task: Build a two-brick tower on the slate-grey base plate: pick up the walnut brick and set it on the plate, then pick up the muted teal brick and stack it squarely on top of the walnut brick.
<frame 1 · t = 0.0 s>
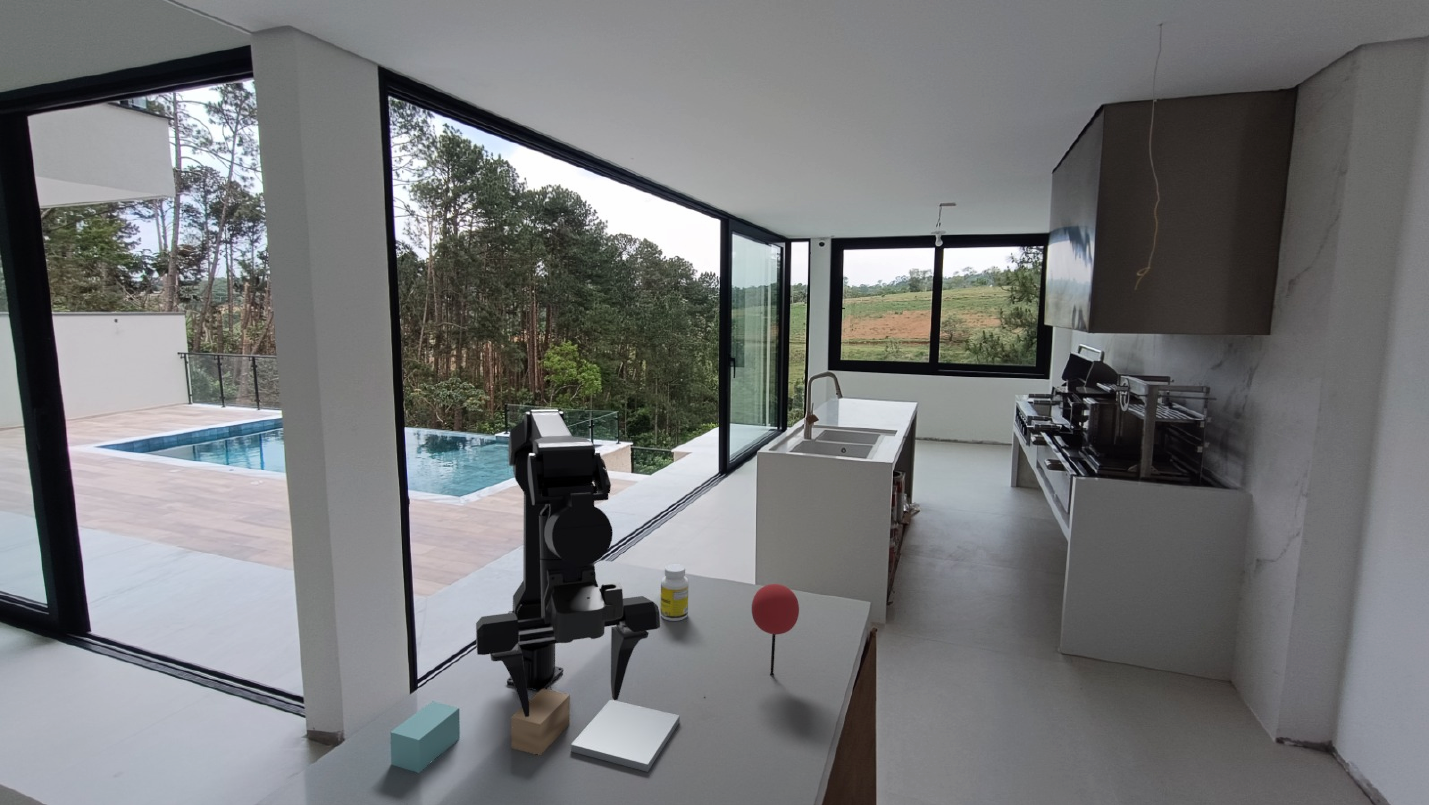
hand: (572, 707, 67), 15 cm above the counter, tool pointing down, fingers open, 9 cm apart
supplement bottle: (674, 616, 124), on the counter
lollipop: (772, 675, 104), on the counter
base plate: (627, 736, 87), on the counter
teal brick: (426, 752, 82), on the counter
walnut brick: (541, 736, 86), on the counter
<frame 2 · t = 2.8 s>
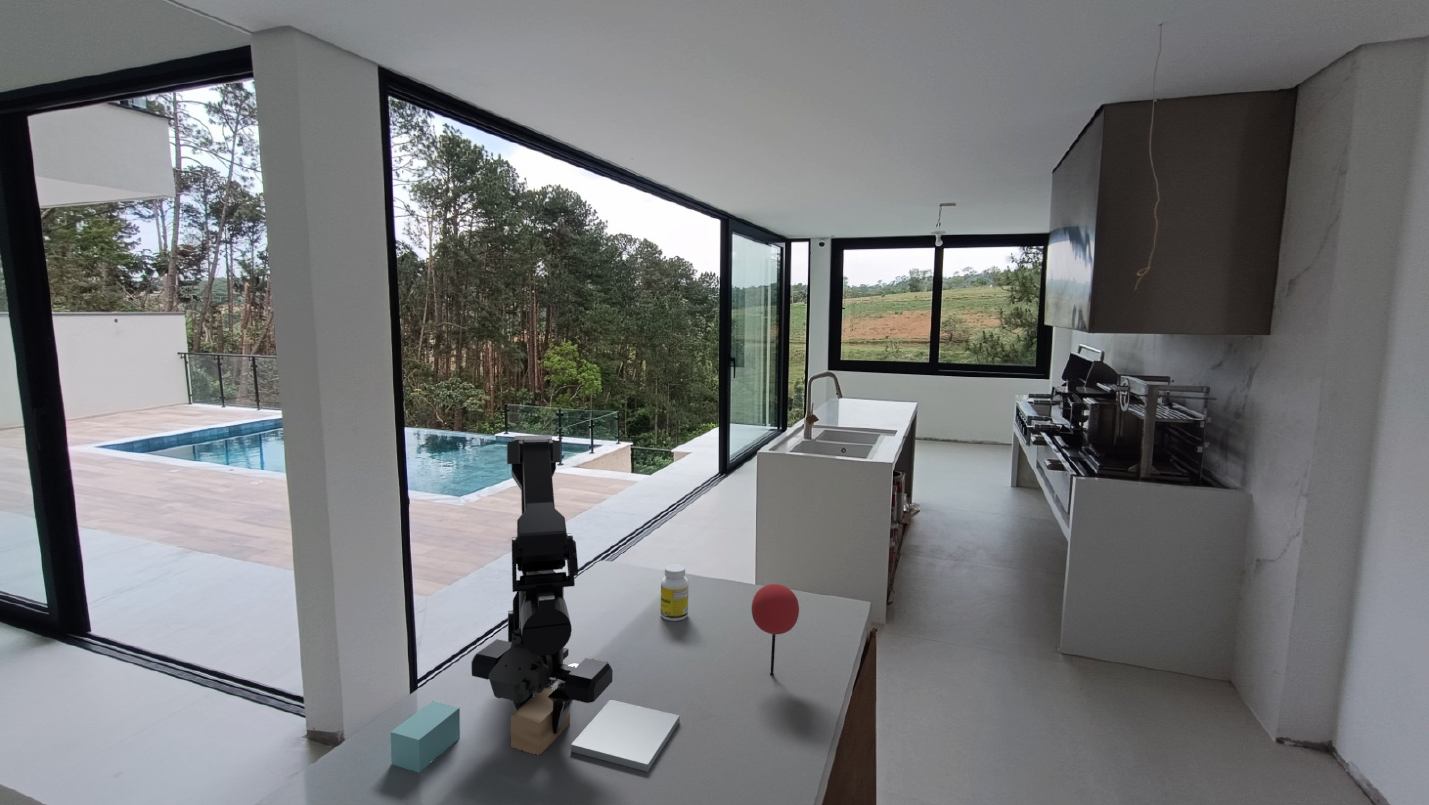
hand: (541, 728, 86), 1 cm above the counter, tool pointing down, fingers closed on walnut brick, 4 cm apart
walnut brick: (541, 735, 86), on the counter, touching gripper
everything else where it was.
when the fingers open (3 cm above the counter, at t = 6.5 s): walnut brick drops 1 cm, resting on base plate.
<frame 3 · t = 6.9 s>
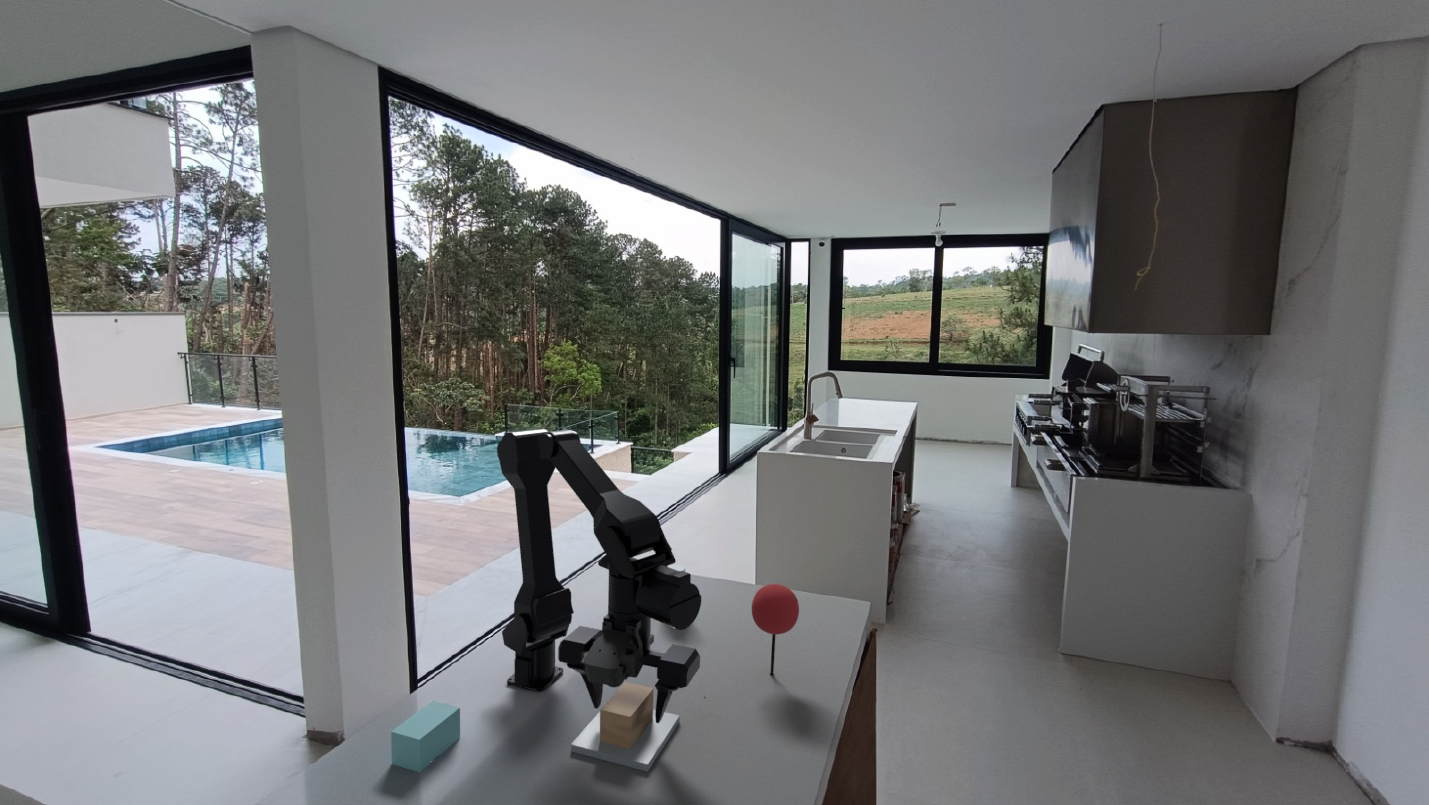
hand: (627, 714, 86), 3 cm above the counter, tool pointing down, fingers open, 9 cm apart
walnut brick: (627, 729, 86), point 1 cm above the counter, touching base plate
everything else where it was.
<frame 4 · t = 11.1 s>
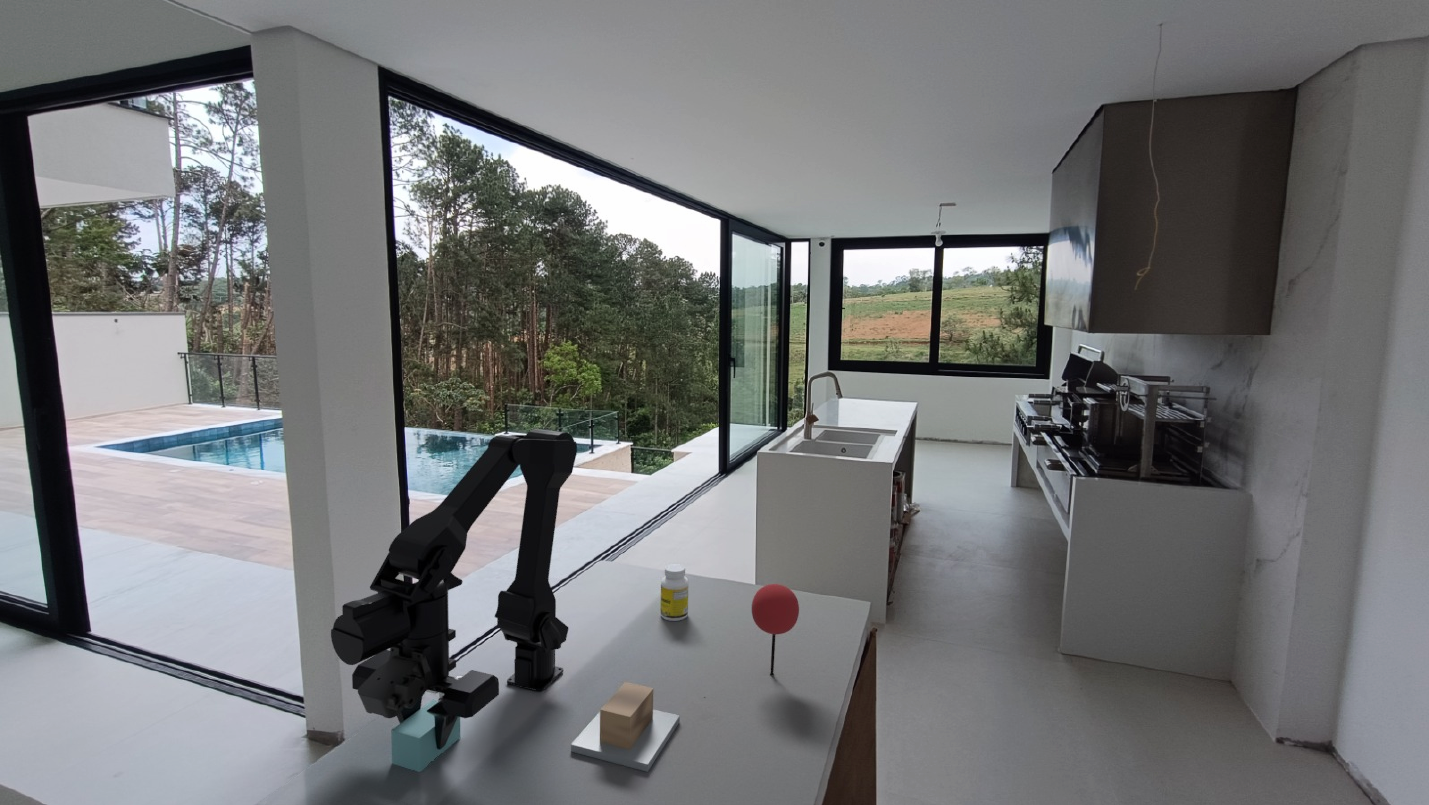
hand: (426, 743, 82), 1 cm above the counter, tool pointing down, fingers closed on teal brick, 4 cm apart
teal brick: (427, 750, 82), on the counter, touching gripper
everything else where it was.
when the fingers open (8 cm above the counter, at t = 15.3 s): teal brick drops 1 cm, resting on walnut brick.
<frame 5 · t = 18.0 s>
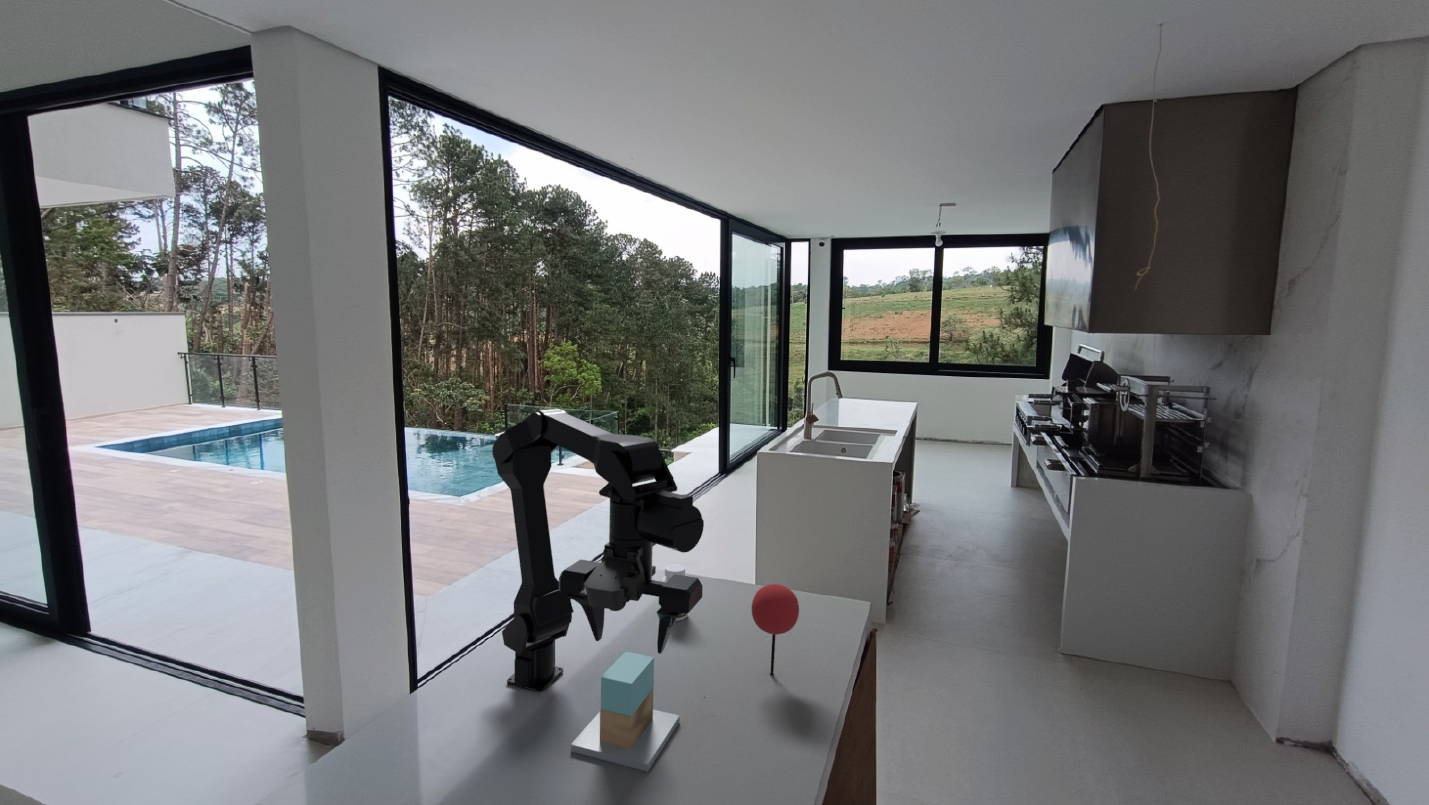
hand: (629, 646, 85), 13 cm above the counter, tool pointing down, fingers open, 9 cm apart
teal brick: (627, 698, 86), point 5 cm above the counter, touching walnut brick
walnut brick: (627, 729, 86), point 1 cm above the counter, touching base plate, teal brick
everything else where it was.
at the end: walnut brick 0.1 cm off-centre on the base plate, point 1.0 cm above the base plate's base; teal brick 0.0 cm off-centre on the base plate, point 5.5 cm above the base plate's base; teal brick tilted 0° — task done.
